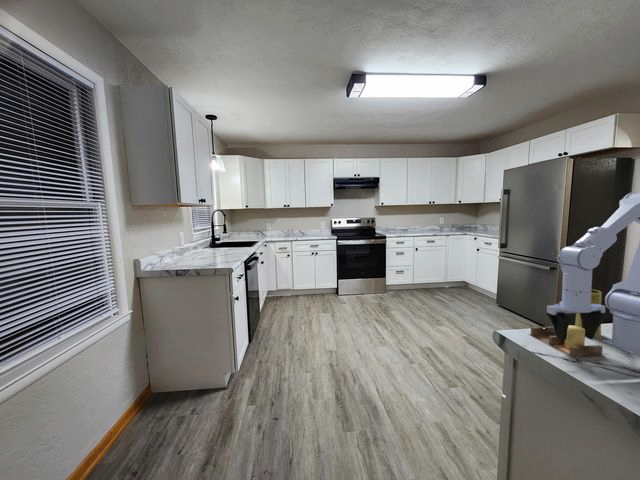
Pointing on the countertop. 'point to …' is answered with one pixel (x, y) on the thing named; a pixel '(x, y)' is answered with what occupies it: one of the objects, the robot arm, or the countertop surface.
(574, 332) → the peg
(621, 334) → the robot arm
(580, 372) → the countertop surface
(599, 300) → the vase
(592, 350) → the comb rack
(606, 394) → the countertop surface
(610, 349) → the countertop surface
